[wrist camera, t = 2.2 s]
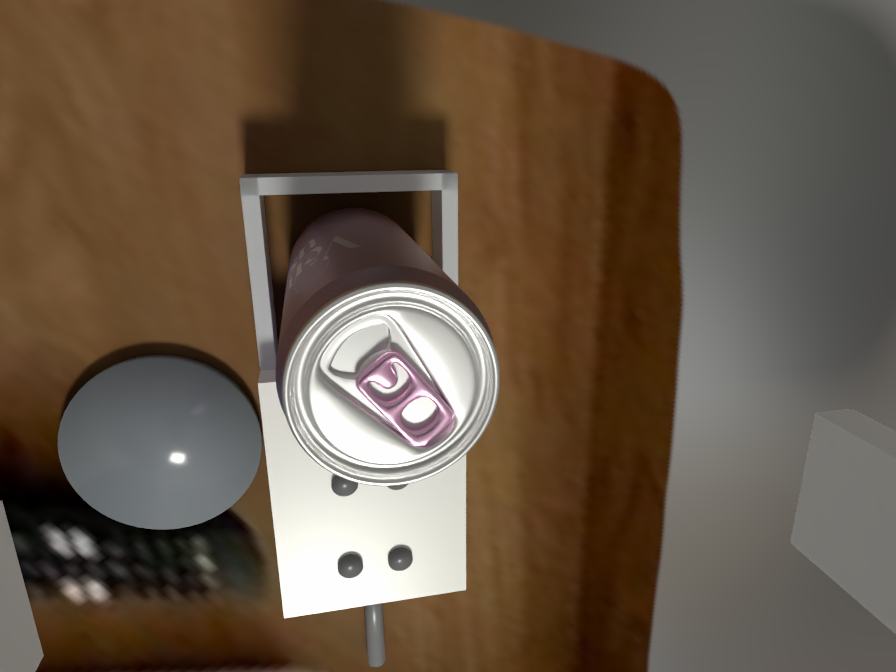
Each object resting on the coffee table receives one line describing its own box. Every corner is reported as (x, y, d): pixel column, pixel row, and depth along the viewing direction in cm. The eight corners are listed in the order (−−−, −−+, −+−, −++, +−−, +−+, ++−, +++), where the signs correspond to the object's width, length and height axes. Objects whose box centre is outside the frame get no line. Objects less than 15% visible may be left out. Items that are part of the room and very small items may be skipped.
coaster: (82, 533, 31) (78, 540, 30) (44, 362, 28) (38, 367, 28) (270, 510, 33) (270, 516, 32) (252, 347, 30) (251, 351, 29)
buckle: (450, 640, 38) (468, 705, 34) (297, 666, 36) (296, 738, 32) (445, 169, 29) (469, 176, 25) (244, 174, 28) (233, 181, 23)
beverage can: (348, 353, 31) (381, 534, 17) (261, 263, 29) (219, 386, 15) (440, 275, 31) (550, 394, 17) (360, 178, 29) (410, 223, 15)
